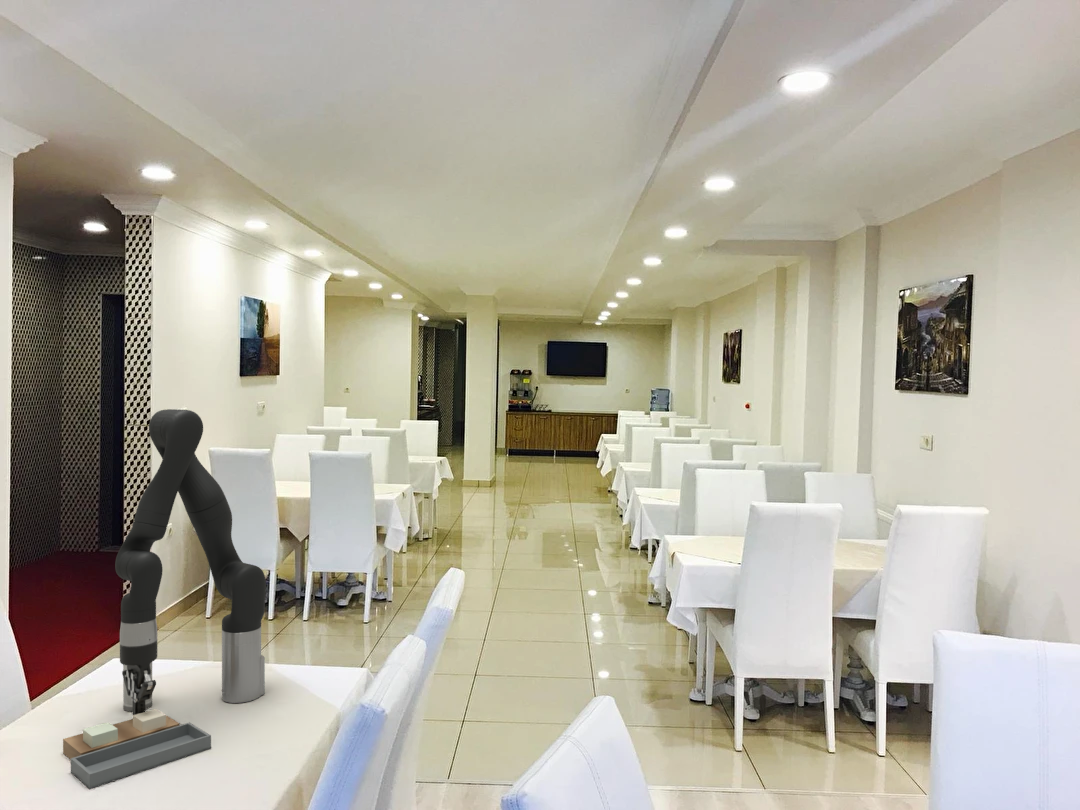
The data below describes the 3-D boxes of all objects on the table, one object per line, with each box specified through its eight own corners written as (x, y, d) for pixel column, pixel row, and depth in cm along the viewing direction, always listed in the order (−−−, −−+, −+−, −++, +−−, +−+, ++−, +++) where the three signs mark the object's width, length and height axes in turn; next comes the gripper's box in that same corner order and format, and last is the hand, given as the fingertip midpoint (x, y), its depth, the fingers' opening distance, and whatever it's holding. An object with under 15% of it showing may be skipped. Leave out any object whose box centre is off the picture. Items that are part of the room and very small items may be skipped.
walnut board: (159, 724, 186) (159, 711, 186) (179, 737, 179) (179, 723, 179) (63, 753, 171) (63, 739, 171) (80, 768, 164) (80, 753, 164)
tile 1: (108, 733, 174) (108, 722, 174) (117, 740, 171) (117, 728, 171) (83, 740, 170) (83, 729, 170) (92, 747, 167) (92, 736, 167)
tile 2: (156, 719, 181) (156, 708, 181) (166, 725, 178) (165, 714, 178) (132, 726, 178) (132, 715, 178) (142, 732, 174) (142, 721, 174)
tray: (189, 734, 181) (189, 722, 180) (211, 748, 174) (211, 735, 174) (70, 772, 163) (70, 758, 163) (89, 789, 156) (89, 774, 156)
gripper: (168, 642, 179) (168, 720, 180) (143, 630, 188) (144, 704, 189) (133, 650, 174) (133, 730, 174) (109, 637, 183) (109, 713, 183)
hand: (138, 717), depth 181 cm, fingers closed
